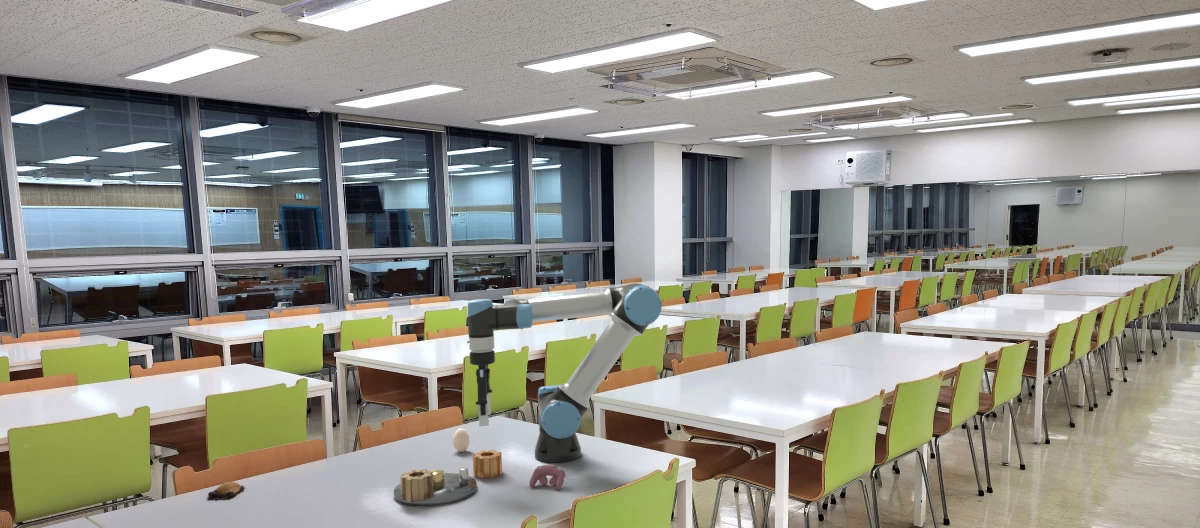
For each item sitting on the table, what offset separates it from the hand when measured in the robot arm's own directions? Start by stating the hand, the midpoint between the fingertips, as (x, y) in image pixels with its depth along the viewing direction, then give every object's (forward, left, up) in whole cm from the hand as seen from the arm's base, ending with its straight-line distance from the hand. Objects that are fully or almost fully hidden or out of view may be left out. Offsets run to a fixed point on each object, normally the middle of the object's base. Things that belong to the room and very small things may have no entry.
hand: (485, 420), depth 221 cm
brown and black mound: (+75, +3, -17) cm, 77 cm away
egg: (+10, -25, -17) cm, 32 cm away
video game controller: (-18, +14, -17) cm, 29 cm away
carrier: (+14, +13, -17) cm, 25 cm away
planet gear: (0, 0, -17) cm, 16 cm away
